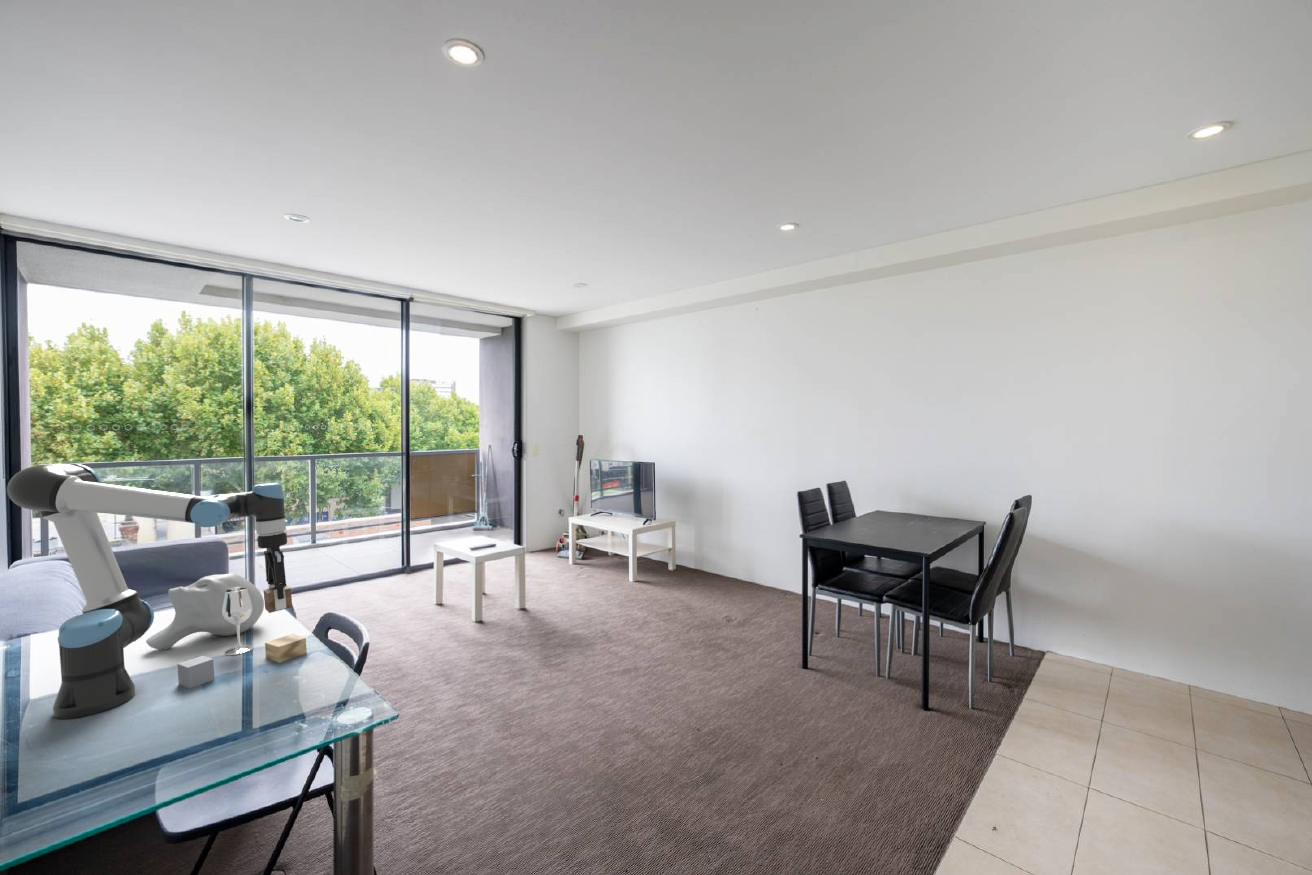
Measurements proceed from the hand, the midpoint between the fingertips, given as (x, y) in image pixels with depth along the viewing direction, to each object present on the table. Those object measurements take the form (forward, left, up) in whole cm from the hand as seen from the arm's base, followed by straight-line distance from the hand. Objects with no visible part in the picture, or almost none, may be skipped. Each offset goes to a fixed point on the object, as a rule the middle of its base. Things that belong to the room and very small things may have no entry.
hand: (278, 606), depth 172 cm
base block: (+2, +1, -16) cm, 16 cm away
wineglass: (-7, +18, -16) cm, 25 cm away
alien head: (-12, +41, -16) cm, 45 cm away
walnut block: (0, 0, 0) cm, 0 cm away
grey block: (-20, 0, -16) cm, 26 cm away
